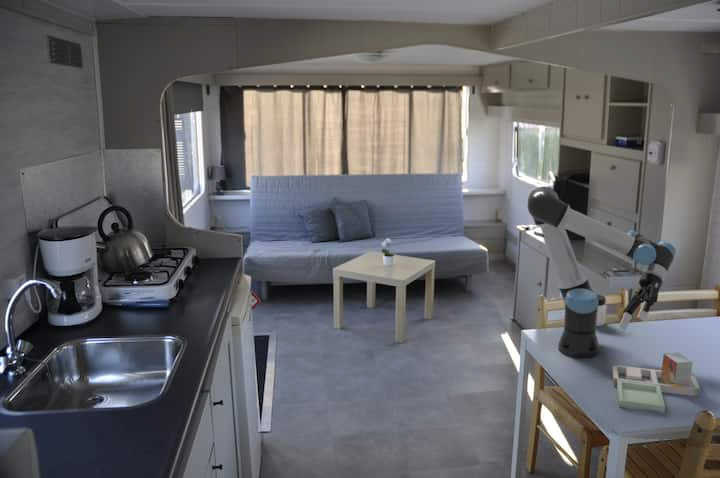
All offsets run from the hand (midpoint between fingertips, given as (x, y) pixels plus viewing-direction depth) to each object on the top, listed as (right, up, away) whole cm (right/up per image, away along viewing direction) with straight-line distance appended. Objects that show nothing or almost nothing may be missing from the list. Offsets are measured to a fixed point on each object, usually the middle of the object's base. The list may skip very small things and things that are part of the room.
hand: (631, 323), depth 221 cm
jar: (+3, -6, +43) cm, 43 cm away
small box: (+8, -19, -16) cm, 26 cm away
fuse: (-5, -18, -12) cm, 22 cm away
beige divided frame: (+1, -19, -14) cm, 23 cm away
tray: (-9, -21, -25) cm, 34 cm away
